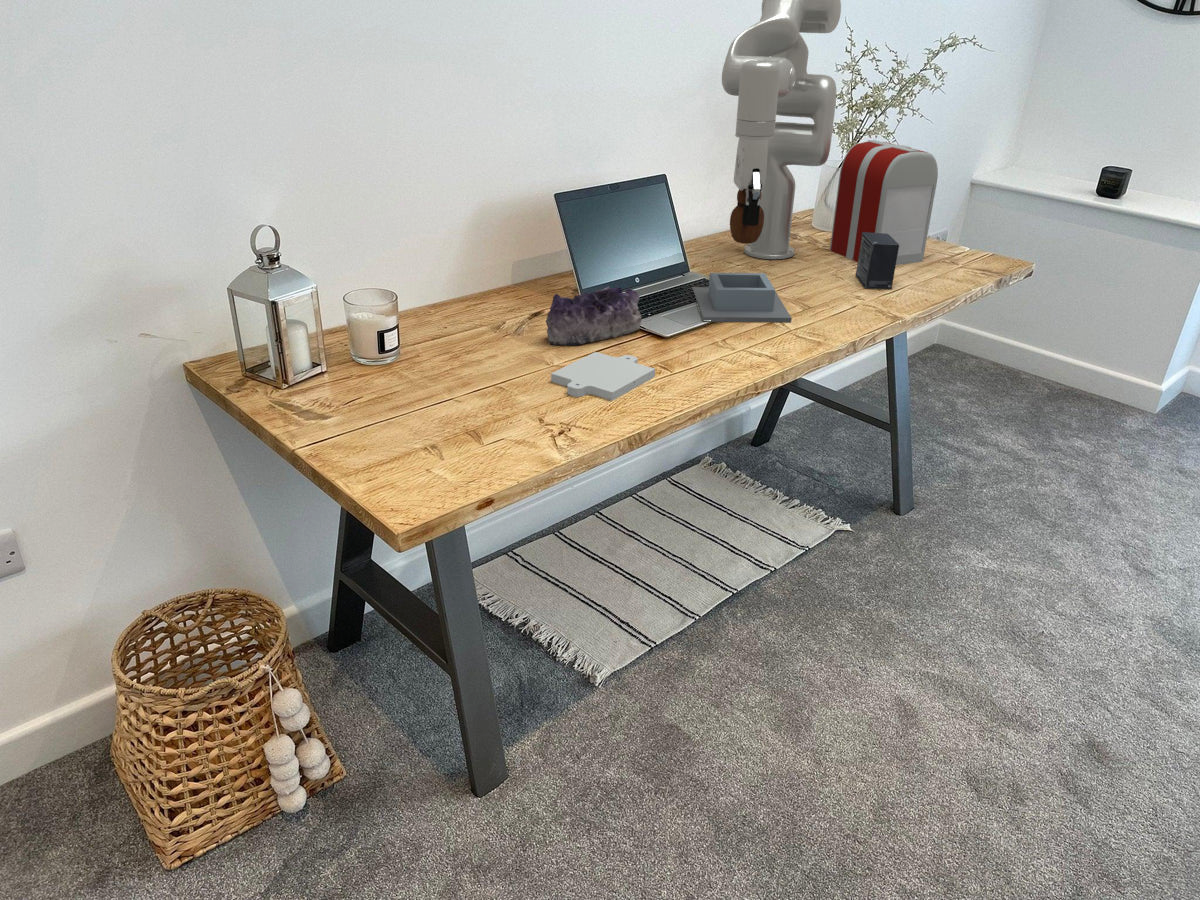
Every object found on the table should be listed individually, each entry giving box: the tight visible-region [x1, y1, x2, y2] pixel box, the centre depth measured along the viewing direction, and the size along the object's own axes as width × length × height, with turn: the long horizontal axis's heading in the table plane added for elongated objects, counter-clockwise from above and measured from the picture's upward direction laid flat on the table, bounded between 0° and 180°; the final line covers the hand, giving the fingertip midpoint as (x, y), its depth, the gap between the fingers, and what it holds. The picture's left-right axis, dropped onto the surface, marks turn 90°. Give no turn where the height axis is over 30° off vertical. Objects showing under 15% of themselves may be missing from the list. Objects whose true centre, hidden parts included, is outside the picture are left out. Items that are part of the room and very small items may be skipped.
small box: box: [855, 232, 899, 290], centre depth 212 cm, size 11×6×10 cm, turn 179°
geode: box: [545, 286, 642, 347], centre depth 179 cm, size 20×12×10 cm, turn 129°
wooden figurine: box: [729, 187, 764, 245], centre depth 188 cm, size 7×6×15 cm
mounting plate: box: [550, 351, 656, 401], centre depth 161 cm, size 18×13×2 cm
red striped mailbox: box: [829, 139, 939, 266], centre depth 229 cm, size 16×18×27 cm
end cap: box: [692, 272, 792, 323], centre depth 196 cm, size 20×18×6 cm
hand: (747, 220), depth 189 cm, fingers closed on wooden figurine, 6 cm apart
